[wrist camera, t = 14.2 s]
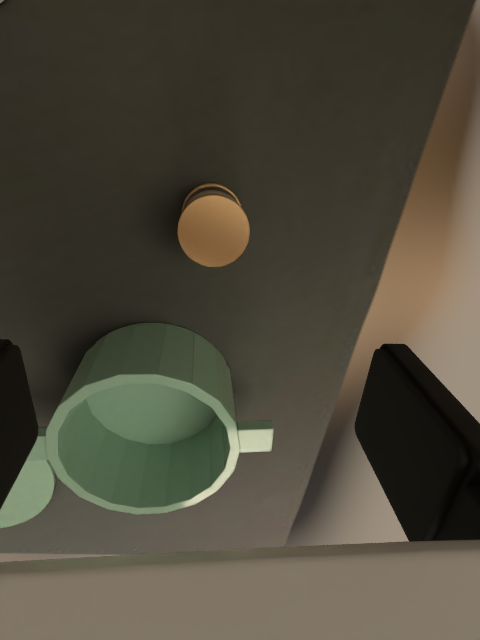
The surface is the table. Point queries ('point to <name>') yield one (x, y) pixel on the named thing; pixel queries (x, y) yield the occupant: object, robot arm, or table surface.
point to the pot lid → (28, 493)
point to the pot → (149, 422)
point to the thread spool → (213, 226)
